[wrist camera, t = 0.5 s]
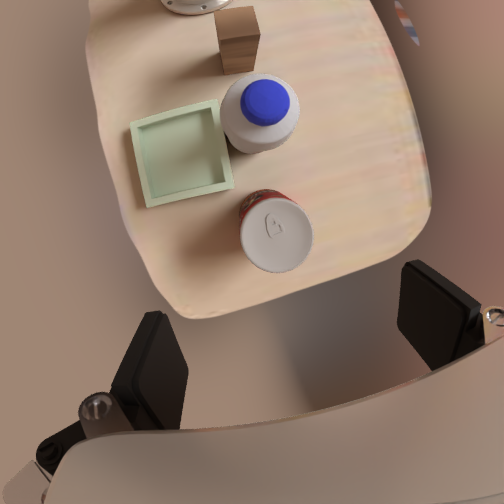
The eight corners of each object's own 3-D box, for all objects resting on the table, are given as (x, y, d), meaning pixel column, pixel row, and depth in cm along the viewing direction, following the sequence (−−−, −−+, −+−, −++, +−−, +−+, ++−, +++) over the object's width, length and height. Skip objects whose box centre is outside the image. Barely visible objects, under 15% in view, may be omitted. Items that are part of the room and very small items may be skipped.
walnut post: (219, 51, 30) (213, 11, 19) (248, 47, 30) (252, 5, 19) (224, 75, 32) (219, 39, 20) (253, 70, 32) (260, 34, 20)
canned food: (271, 177, 37) (284, 182, 26) (304, 222, 39) (328, 244, 28) (227, 211, 38) (223, 230, 27) (262, 254, 40) (271, 287, 29)
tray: (135, 125, 33) (129, 122, 31) (218, 102, 33) (217, 98, 30) (152, 205, 37) (146, 208, 34) (234, 186, 37) (234, 188, 34)
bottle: (285, 140, 35) (335, 118, 16) (242, 165, 36) (248, 165, 17) (259, 100, 33) (282, 39, 14) (216, 124, 34) (194, 82, 15)
